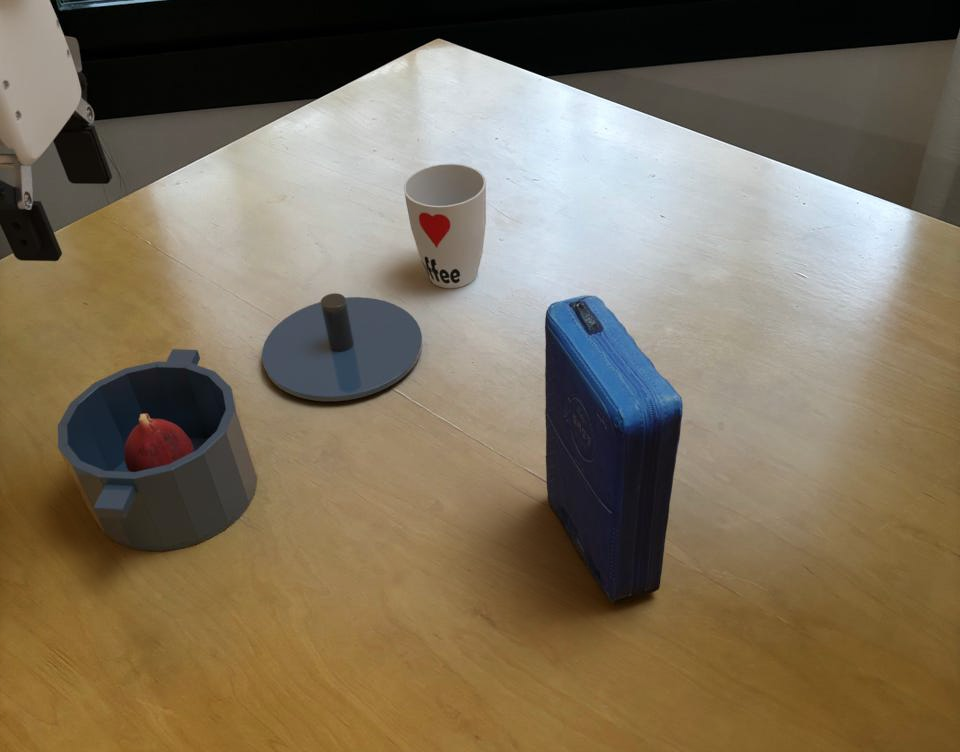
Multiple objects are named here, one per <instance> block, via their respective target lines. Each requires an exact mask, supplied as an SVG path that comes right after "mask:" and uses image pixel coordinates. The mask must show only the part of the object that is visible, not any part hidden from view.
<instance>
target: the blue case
mask: <svg viewBox="0 0 960 752" xmlns="http://www.w3.org/2000/svg"><path fill="white" fill-rule="evenodd" d="M544 335H545V348H544V349H545V351H544V353H545V363H544V364H545V365H544V367H545V368H544V369H545V370H544V377H545V379H544V381H545V383H544V384H545V385H544V386H545V387H544V388H545V389H544V390H545V391H544V393H545V395H544V396H545V410H544V415H545V416H544V417H545V471H546V472H545V473H546V474H545V475H546V476H545V478H546V492H547V503H548V504H549V506H550V508H551V510H552V511H553V514H554V515H555V516H556V518H557V519H558V520H559V522H560V524H561V526H562V527H563V529H564V530H565V532H566V533H565V534H566V535H567V537H568V538H569V540H570V542H571V543H572V545H573V547H574V549H575V551H576V552H577V554H578V556H579V557H580V558H581V560H582V561H583V563H584V564H585V566H586V567H587V569H588V571H589V572H590V575H592V578H593V579H594V580H595V582H596V584H597V585H598V587H599V588H600V590H601V591H603V593H604V594H605V596H606V598H608V600H610V602H611V603H612V604H613V605H620V604H622V603H625V602H629V601H632V600H635V599H638V598H640V597H643V596H645V595H649V594H653V593H655V592H657V591H659V589H660V588H661V580H662V579H661V578H662V572H663V564H664V554H665V546H666V538H667V537H666V536H667V529H668V523H669V515H670V514H669V513H670V504H671V499H672V492H673V484H674V475H675V470H676V463H677V456H678V450H679V445H680V440H681V439H680V438H681V429H682V420H683V412H684V411H683V409H684V408H683V399H682V396H681V394H680V393H678V392H677V390H676V389H675V388H674V387H673V385H672V384H671V383H670V381H668V380H667V378H665V377H664V376H663V375H661V374H660V372H659V371H658V370H657V369H656V367H655V365H654V363H653V362H652V360H651V359H650V358H649V357H648V356H647V355H646V354H645V353H644V352H643V351H642V350H641V348H639V346H638V345H637V343H636V341H635V339H634V337H632V336H631V335H630V334H629V333H628V331H627V329H626V327H625V326H624V325H623V324H622V323H621V322H620V321H619V319H618V318H617V317H616V314H615V313H614V312H613V311H612V310H610V308H608V307H607V306H606V304H605V302H604V301H603V300H602V299H601V298H599V297H598V296H597V295H589V294H587V295H586V294H584V295H579V296H575V297H571V298H567V299H563V300H559V301H555V302H552V303H551V304H550V305H549V306H548V307H547V310H546V312H545V319H544Z"/></svg>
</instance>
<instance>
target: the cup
mask: <svg viewBox="0 0 960 752" xmlns="http://www.w3.org/2000/svg"><path fill="white" fill-rule="evenodd" d="M403 192H404V197H405V198H404V199H405V203H406V208H407V213H408V218H409V224H410V225H409V226H410V229H411V233H412V236H413V239H414V242H415V246H416V249H417V252H418V256H419V258H420V261H421V264H422V265H423V267H424V269H425V271H426V274H427V275H428V278H429V279H430V281H431V283H432V284H433V285H435V286H438V287H440V288H442V289H443V288H444V289H459V288H462V287H465V286H468V285H470V284H471V283H473V282H474V281H475V279H476V278H477V276H478V271H479V268H480V264H481V260H482V257H483V253H484V242H485V234H486V224H487V180H486V177H485V175H484V174H483V173H482V172H481V171H480V170H479V169H477V168H474V167H472V166H470V165H465V164H462V163H461V164H460V163H441V164H434V165H430V166H427V167H424V168H422V169H419V170H418V171H416V172H414V173H412V174H411V175H410V176H409V177H407V179H406V180H405V182H404V184H403Z"/></svg>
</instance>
